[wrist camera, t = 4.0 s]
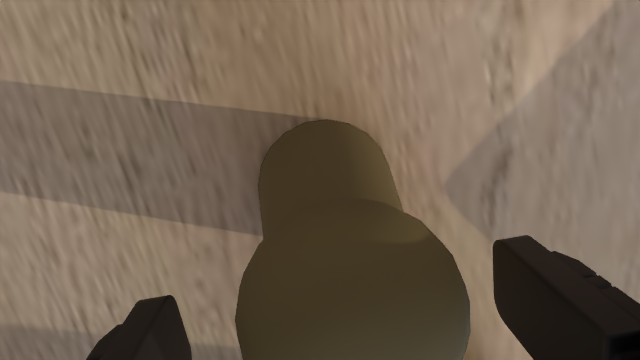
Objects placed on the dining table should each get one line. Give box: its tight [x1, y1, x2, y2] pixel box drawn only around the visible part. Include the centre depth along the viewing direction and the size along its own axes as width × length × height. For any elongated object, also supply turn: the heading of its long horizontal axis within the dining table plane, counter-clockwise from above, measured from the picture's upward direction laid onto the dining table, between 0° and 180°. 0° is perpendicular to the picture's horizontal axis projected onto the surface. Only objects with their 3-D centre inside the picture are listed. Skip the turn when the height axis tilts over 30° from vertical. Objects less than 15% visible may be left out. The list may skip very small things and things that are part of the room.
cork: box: [235, 120, 470, 360], centre depth 13 cm, size 6×6×11 cm
